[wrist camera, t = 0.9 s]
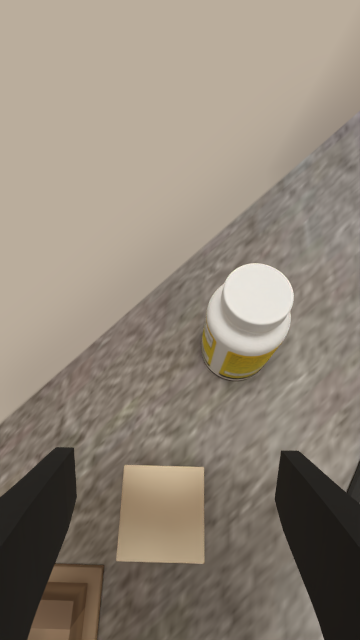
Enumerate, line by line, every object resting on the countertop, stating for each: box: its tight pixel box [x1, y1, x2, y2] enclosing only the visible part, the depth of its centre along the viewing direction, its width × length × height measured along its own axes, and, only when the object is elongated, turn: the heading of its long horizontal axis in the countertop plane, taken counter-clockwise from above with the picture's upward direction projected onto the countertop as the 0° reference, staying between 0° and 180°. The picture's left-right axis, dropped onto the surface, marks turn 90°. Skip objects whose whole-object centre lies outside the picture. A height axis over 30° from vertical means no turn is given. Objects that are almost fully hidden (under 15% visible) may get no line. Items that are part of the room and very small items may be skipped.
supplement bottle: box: [201, 263, 294, 380], centre depth 23 cm, size 5×5×10 cm
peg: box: [116, 465, 204, 564], centre depth 19 cm, size 4×4×8 cm
